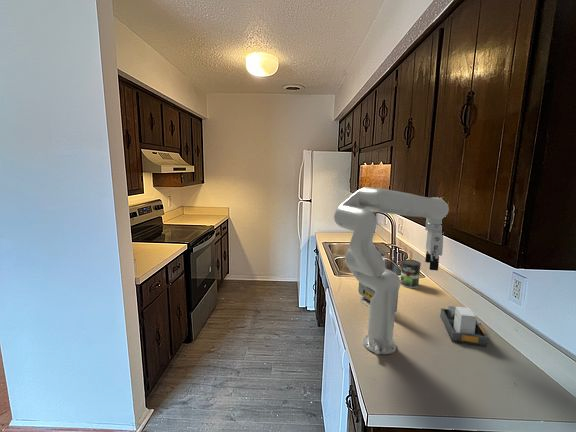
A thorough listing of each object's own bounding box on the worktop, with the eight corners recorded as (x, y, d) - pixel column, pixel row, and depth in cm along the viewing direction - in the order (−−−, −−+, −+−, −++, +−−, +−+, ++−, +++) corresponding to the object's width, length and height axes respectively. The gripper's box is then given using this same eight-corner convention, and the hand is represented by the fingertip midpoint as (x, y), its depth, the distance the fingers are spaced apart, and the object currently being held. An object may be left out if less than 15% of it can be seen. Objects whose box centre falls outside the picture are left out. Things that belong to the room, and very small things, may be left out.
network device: (400, 316, 143) (403, 276, 139) (385, 319, 139) (388, 279, 136) (367, 294, 166) (369, 259, 162) (353, 296, 163) (355, 261, 159)
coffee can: (416, 289, 173) (418, 266, 170) (397, 285, 179) (399, 262, 176) (420, 284, 181) (422, 261, 179) (402, 279, 187) (404, 258, 185)
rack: (487, 347, 120) (488, 337, 119) (452, 342, 123) (453, 332, 122) (469, 320, 140) (470, 311, 140) (440, 316, 144) (441, 307, 143)
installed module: (470, 327, 132) (472, 314, 131) (450, 324, 135) (451, 312, 133) (466, 320, 138) (467, 308, 137) (447, 317, 140) (448, 305, 139)
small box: (473, 340, 123) (477, 316, 121) (458, 338, 124) (461, 315, 122) (467, 330, 130) (470, 307, 128) (452, 328, 132) (455, 306, 130)
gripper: (450, 232, 117) (445, 274, 120) (440, 223, 133) (436, 260, 136) (429, 230, 119) (425, 272, 122) (422, 222, 135) (418, 259, 138)
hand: (431, 266), depth 129 cm, fingers open, 9 cm apart
